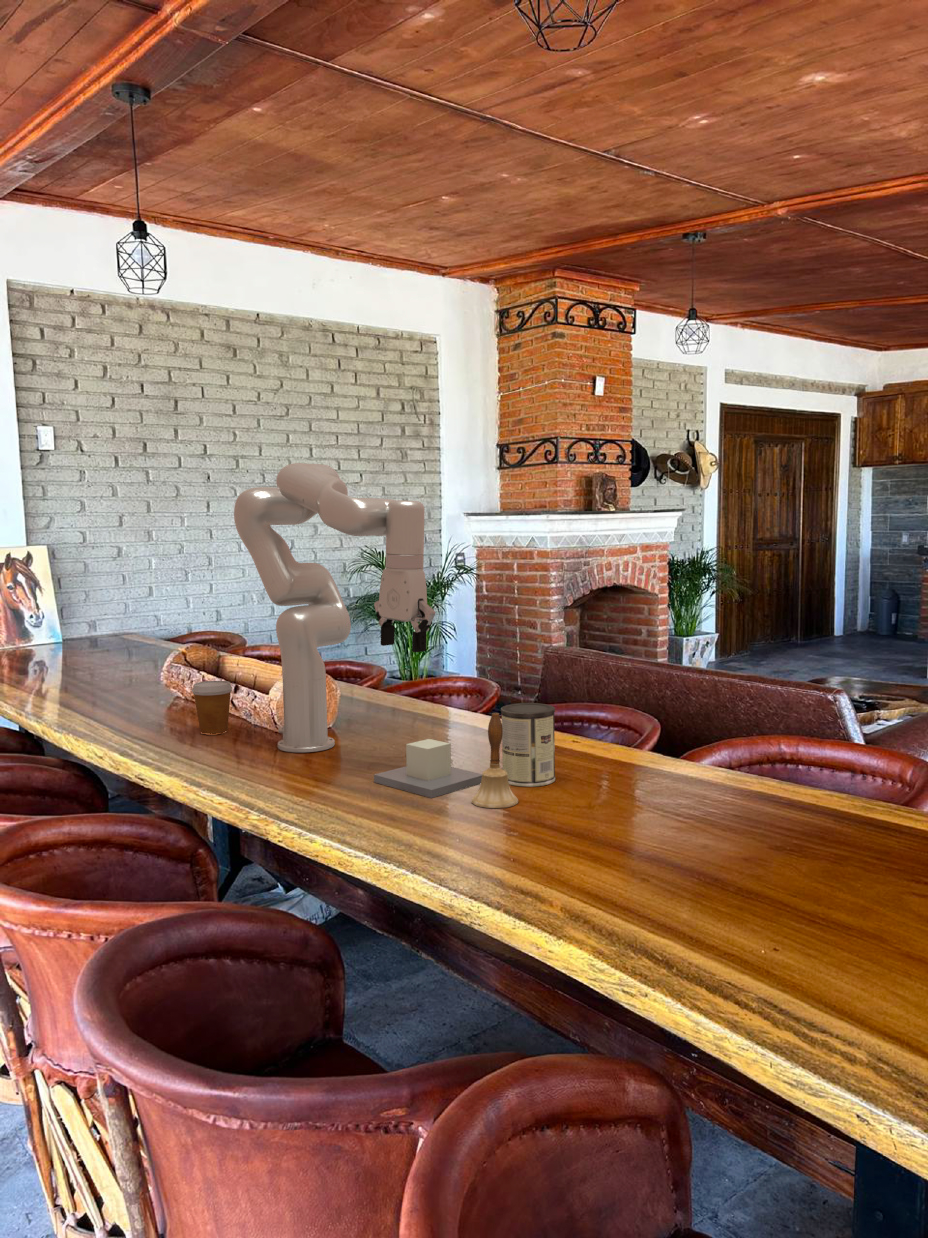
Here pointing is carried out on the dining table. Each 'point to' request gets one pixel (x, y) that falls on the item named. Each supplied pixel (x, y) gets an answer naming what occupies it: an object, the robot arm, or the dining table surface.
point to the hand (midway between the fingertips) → (403, 648)
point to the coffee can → (528, 744)
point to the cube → (428, 759)
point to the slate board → (425, 787)
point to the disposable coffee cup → (212, 705)
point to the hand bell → (495, 774)
